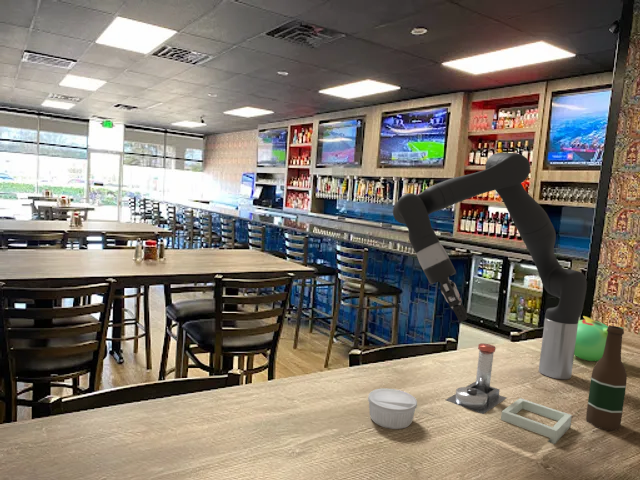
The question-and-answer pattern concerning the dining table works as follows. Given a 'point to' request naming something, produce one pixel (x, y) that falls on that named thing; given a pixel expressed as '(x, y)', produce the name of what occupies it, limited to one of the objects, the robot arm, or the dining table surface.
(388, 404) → the ramekin
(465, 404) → the grey piece
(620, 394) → the beer bottle
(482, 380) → the lock pin
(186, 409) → the dining table surface
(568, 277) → the robot arm
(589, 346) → the green rounded piece
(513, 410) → the rectangular frame
